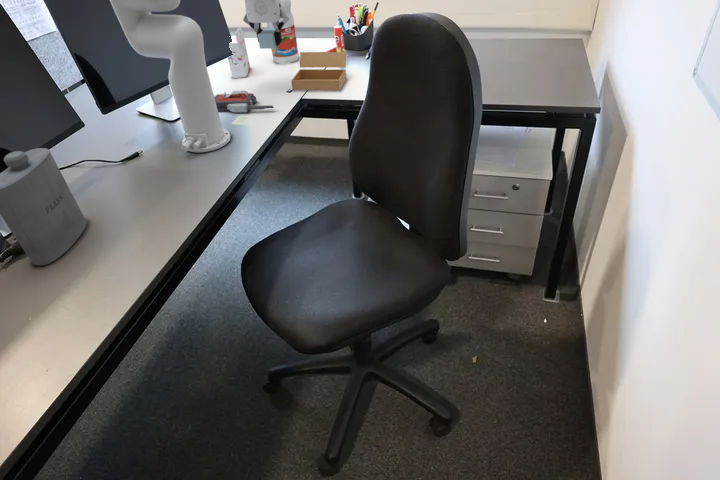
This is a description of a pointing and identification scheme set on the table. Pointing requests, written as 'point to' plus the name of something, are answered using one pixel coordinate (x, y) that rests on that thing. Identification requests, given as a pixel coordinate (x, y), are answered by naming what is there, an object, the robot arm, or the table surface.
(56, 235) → the flask
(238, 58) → the ink cartridge box
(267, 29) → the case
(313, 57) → the flap
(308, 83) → the carton
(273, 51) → the fruit juice
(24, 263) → the table surface
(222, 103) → the toy chainsaw
